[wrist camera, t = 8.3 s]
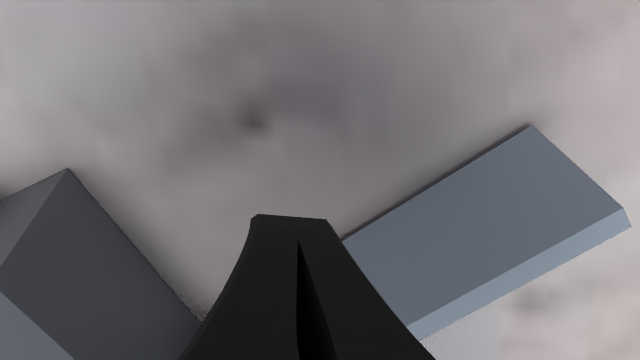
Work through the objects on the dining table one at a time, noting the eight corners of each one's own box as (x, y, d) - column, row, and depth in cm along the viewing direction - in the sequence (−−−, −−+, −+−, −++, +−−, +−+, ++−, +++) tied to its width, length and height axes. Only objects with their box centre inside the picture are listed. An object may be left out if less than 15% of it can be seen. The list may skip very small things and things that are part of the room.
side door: (230, 342, 23) (221, 475, 18) (200, 318, 22) (181, 449, 17) (546, 156, 20) (646, 253, 15) (526, 117, 19) (625, 206, 14)
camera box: (202, 326, 23) (182, 476, 17) (69, 382, 24) (7, 542, 18) (52, 150, 18) (-47, 276, 12) (-108, 229, 19) (-269, 381, 13)
